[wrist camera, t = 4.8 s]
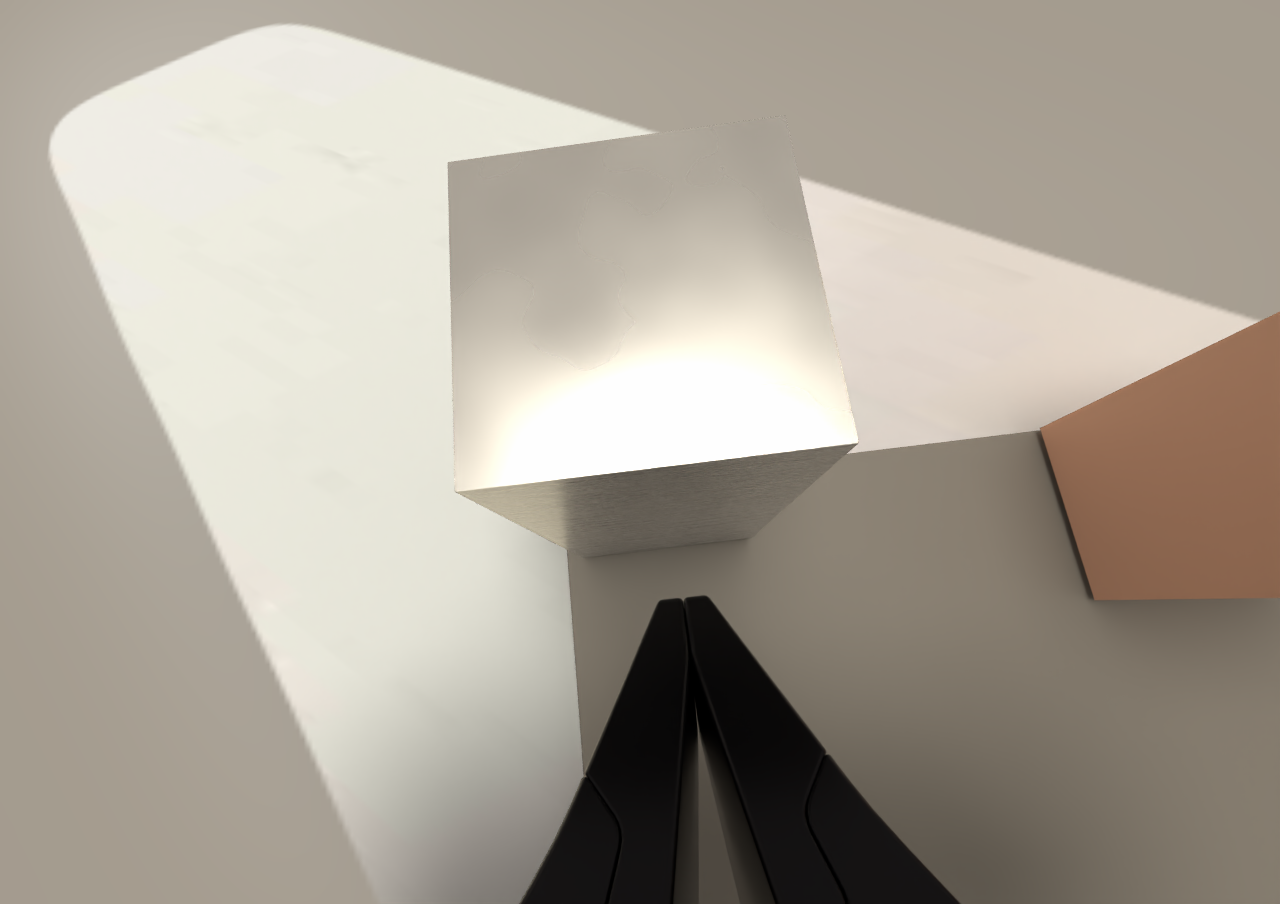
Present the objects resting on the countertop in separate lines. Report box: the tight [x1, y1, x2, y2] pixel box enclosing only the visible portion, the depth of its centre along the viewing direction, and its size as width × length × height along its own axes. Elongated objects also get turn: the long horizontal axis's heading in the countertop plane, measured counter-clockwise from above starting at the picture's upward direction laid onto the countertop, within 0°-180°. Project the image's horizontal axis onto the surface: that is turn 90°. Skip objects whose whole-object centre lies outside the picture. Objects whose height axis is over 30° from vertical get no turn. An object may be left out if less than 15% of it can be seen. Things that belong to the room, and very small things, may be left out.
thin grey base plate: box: [567, 430, 1280, 904], centre depth 16 cm, size 13×20×1 cm, turn 96°
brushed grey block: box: [448, 115, 859, 558], centre depth 12 cm, size 5×5×10 cm
